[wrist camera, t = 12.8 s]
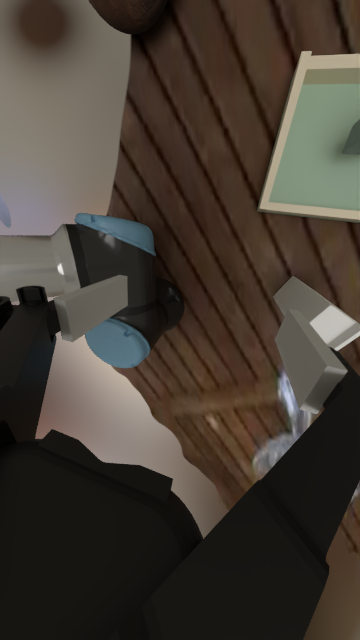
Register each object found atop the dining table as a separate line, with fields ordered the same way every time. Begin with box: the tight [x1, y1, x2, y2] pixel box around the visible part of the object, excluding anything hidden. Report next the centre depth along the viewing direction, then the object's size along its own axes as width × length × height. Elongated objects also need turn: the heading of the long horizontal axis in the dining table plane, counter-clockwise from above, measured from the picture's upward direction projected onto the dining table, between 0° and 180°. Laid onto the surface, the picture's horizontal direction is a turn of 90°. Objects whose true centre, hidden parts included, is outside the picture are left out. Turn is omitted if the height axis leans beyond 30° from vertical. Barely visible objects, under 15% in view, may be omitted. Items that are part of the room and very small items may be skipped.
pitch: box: [257, 51, 360, 223], centre depth 28 cm, size 25×18×5 cm
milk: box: [273, 276, 360, 351], centre depth 32 cm, size 6×6×22 cm
